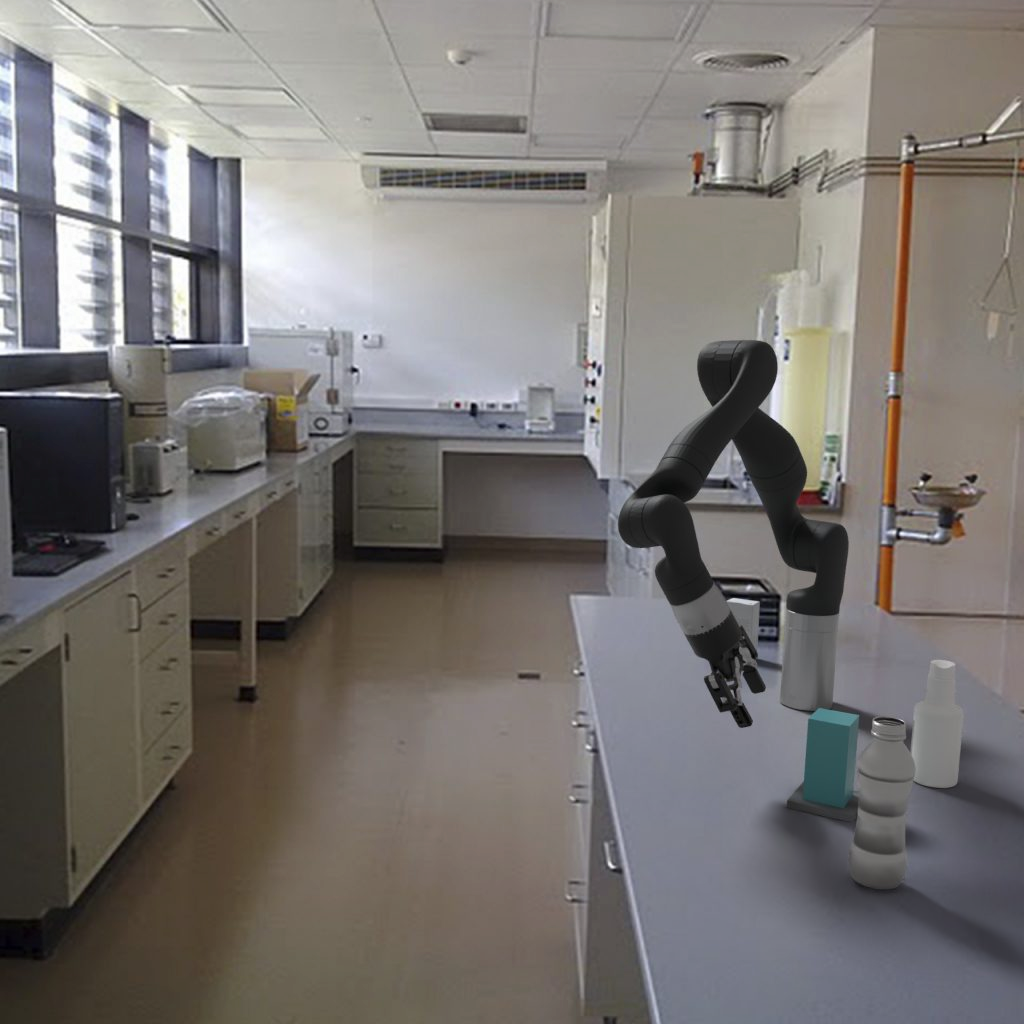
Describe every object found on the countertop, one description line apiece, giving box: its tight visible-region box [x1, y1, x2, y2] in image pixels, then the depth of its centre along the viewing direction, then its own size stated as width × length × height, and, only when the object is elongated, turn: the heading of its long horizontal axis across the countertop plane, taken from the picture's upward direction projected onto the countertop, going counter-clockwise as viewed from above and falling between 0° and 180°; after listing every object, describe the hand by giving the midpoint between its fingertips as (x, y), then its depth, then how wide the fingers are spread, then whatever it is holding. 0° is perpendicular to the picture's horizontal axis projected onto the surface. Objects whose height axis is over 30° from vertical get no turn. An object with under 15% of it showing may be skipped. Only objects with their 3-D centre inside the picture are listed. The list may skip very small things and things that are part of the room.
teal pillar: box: [803, 708, 860, 808], centre depth 155 cm, size 6×6×12 cm
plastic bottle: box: [847, 716, 916, 890], centre depth 131 cm, size 6×7×20 cm
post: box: [786, 780, 859, 823], centre depth 156 cm, size 9×9×8 cm
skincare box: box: [726, 597, 761, 652], centre depth 230 cm, size 6×4×12 cm
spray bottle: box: [909, 659, 964, 789], centre depth 165 cm, size 7×7×18 cm
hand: (753, 708), depth 165 cm, fingers open, 8 cm apart
